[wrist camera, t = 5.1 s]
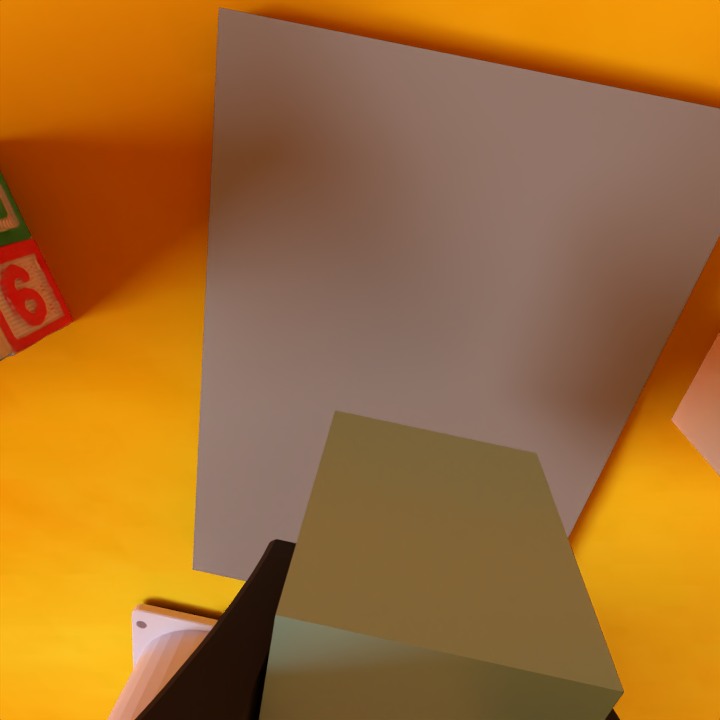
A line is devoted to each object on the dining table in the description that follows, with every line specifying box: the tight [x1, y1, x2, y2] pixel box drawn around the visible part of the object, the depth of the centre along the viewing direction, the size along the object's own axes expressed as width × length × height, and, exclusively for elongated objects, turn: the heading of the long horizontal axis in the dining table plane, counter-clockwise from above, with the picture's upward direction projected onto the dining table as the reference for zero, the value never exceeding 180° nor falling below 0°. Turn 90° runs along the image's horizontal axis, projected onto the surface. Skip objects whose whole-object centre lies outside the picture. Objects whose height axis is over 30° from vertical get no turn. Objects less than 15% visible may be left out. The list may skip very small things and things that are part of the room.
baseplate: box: [193, 7, 720, 581], centre depth 17 cm, size 20×14×1 cm
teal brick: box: [259, 410, 624, 720], centre depth 9 cm, size 6×4×4 cm, turn 170°
